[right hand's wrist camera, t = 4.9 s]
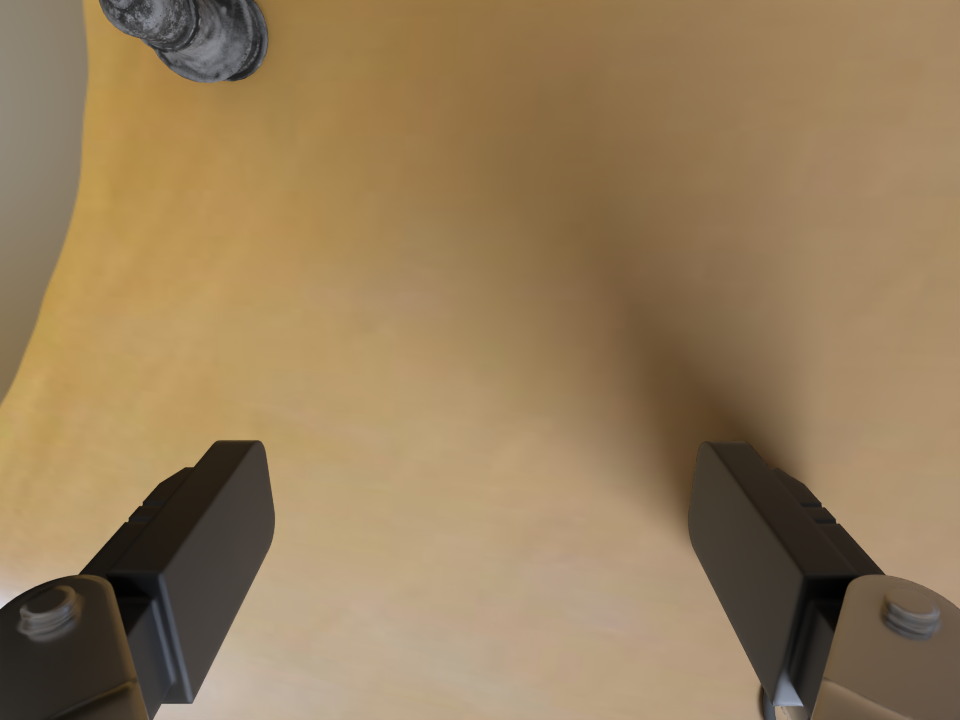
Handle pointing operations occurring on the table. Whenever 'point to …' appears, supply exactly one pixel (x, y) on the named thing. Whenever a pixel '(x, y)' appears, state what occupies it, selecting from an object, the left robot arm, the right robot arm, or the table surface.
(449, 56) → the table surface
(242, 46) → the grey chess piece
